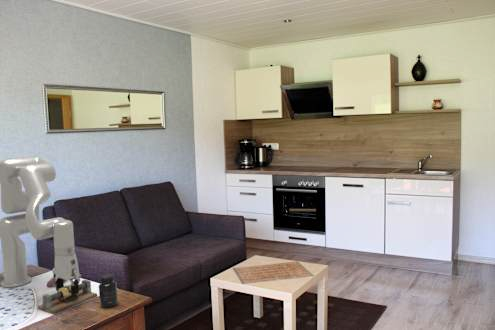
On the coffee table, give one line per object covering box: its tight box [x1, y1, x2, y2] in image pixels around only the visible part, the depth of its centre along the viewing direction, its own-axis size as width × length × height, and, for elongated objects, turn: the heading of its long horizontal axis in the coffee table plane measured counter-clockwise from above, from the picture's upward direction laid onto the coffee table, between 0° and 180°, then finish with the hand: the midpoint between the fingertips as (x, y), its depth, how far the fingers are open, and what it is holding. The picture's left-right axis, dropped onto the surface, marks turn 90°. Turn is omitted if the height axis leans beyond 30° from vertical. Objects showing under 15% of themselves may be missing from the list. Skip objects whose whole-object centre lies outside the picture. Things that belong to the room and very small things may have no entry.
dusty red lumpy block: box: [46, 276, 65, 287], centre depth 202 cm, size 10×5×7 cm, turn 170°
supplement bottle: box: [98, 273, 119, 309], centre depth 175 cm, size 7×7×12 cm
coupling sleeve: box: [56, 283, 78, 300], centre depth 179 cm, size 6×5×5 cm
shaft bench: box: [37, 279, 98, 316], centre depth 179 cm, size 11×20×6 cm, turn 148°
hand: (67, 291), depth 179 cm, fingers open, 9 cm apart
